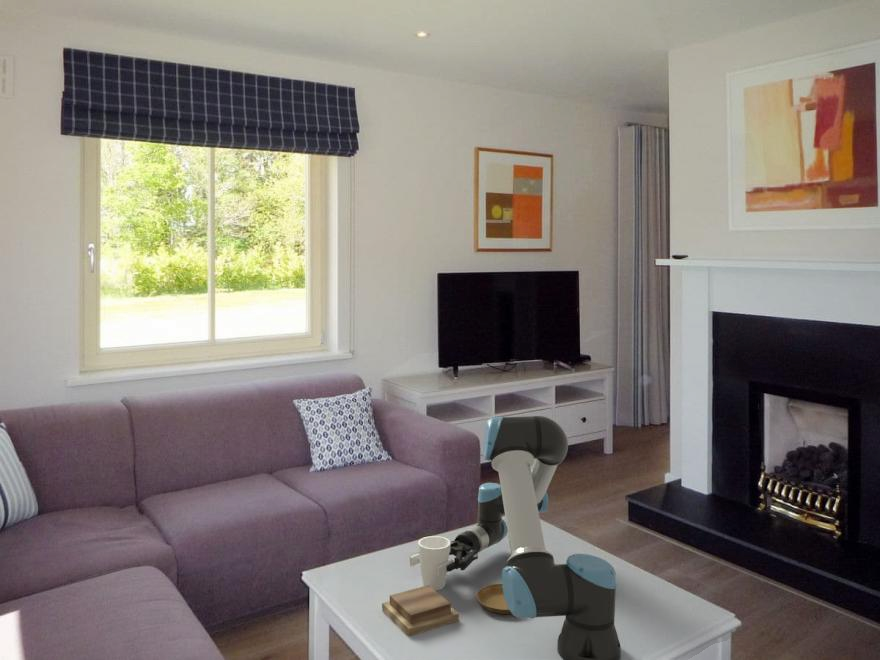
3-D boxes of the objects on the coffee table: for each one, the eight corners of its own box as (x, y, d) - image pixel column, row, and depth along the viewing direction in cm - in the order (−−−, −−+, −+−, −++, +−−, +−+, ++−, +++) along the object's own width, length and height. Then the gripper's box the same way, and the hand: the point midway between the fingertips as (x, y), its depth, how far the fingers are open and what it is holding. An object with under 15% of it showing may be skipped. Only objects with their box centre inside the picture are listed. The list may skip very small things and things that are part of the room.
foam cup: (413, 590, 208) (413, 546, 207) (423, 576, 217) (423, 534, 215) (445, 595, 205) (445, 551, 204) (454, 580, 214) (454, 538, 213)
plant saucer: (532, 618, 193) (533, 609, 193) (477, 618, 193) (477, 608, 193) (527, 592, 208) (527, 583, 207) (475, 591, 208) (475, 583, 208)
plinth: (458, 620, 191) (458, 604, 191) (408, 636, 184) (408, 619, 183) (430, 596, 204) (430, 581, 204) (382, 610, 196) (382, 594, 196)
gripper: (500, 563, 218) (454, 591, 200) (443, 544, 231) (395, 568, 214) (501, 539, 217) (454, 565, 199) (443, 521, 231) (395, 543, 213)
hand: (424, 566), depth 207 cm, fingers closed on foam cup, 9 cm apart
